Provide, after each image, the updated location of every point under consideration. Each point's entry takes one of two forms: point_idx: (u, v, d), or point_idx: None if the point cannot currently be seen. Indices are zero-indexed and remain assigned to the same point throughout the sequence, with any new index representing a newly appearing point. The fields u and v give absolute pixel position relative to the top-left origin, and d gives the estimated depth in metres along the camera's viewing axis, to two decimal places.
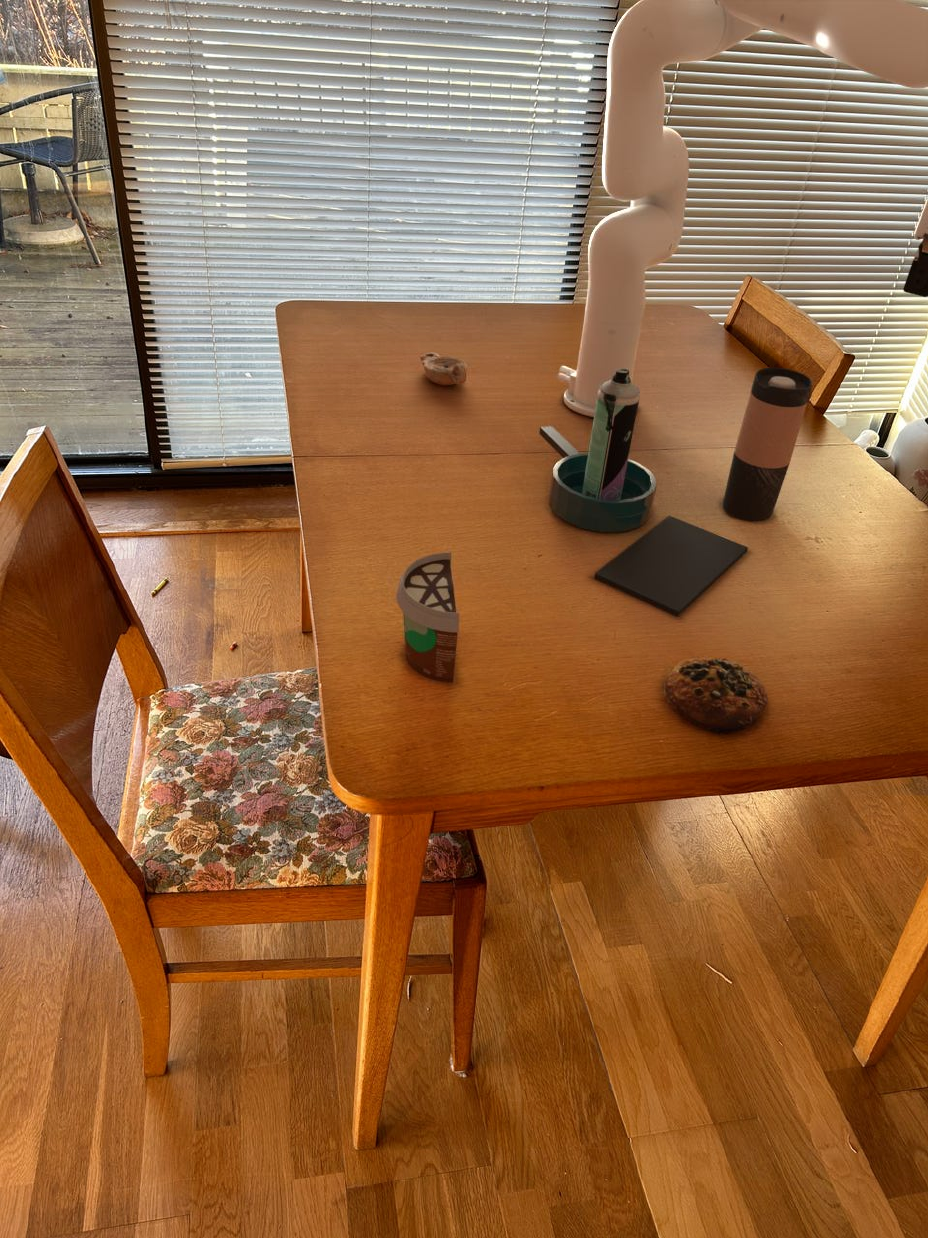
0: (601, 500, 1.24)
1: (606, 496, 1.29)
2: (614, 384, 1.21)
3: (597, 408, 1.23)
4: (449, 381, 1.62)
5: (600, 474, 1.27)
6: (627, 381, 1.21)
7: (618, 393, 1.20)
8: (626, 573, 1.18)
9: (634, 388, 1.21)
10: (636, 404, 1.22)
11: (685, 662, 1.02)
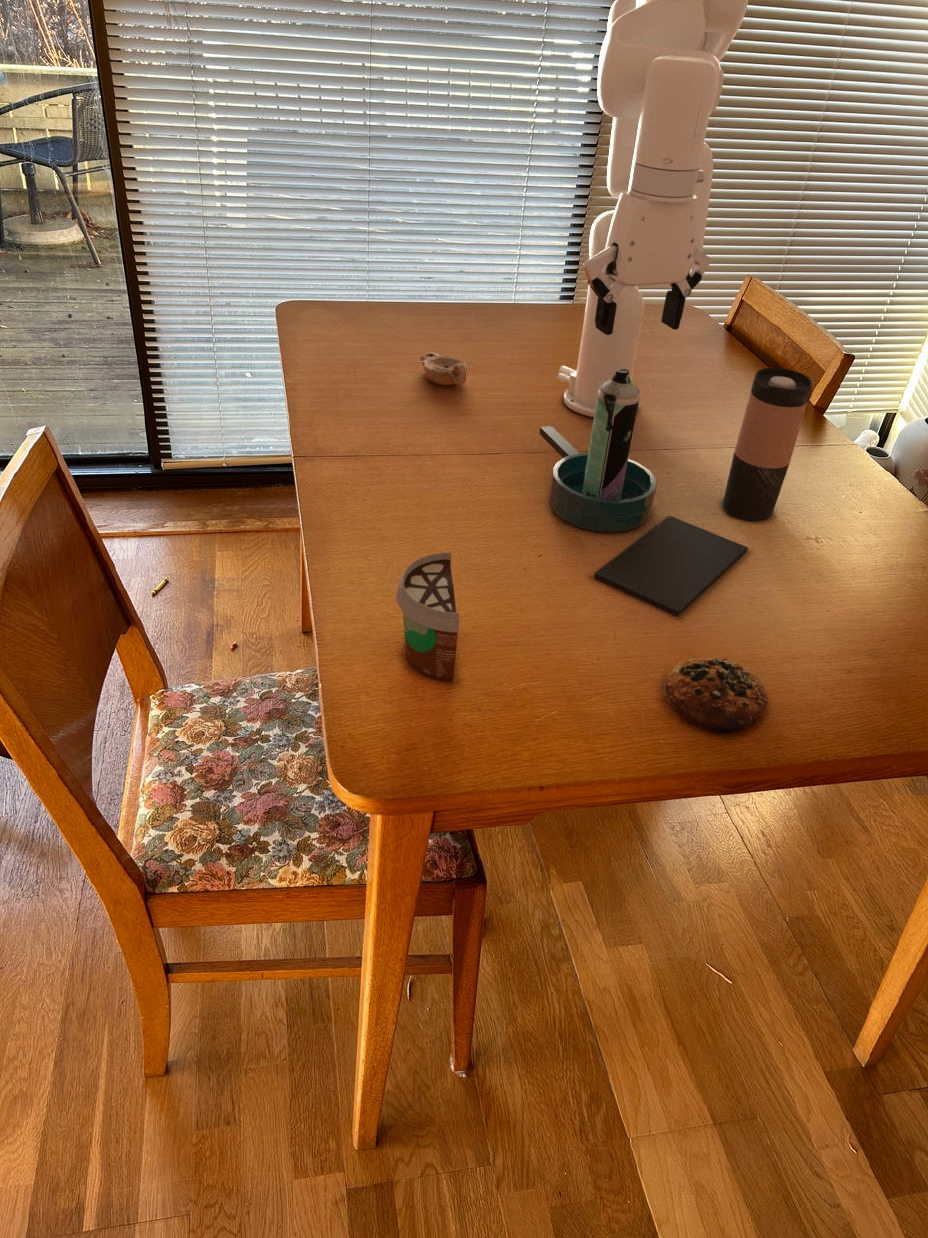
0: (601, 500, 1.24)
1: (606, 496, 1.29)
2: (614, 384, 1.21)
3: (597, 408, 1.23)
4: (449, 381, 1.62)
5: (600, 474, 1.27)
6: (627, 381, 1.21)
7: (618, 393, 1.20)
8: (626, 573, 1.18)
9: (634, 388, 1.21)
10: (636, 404, 1.22)
11: (685, 662, 1.02)
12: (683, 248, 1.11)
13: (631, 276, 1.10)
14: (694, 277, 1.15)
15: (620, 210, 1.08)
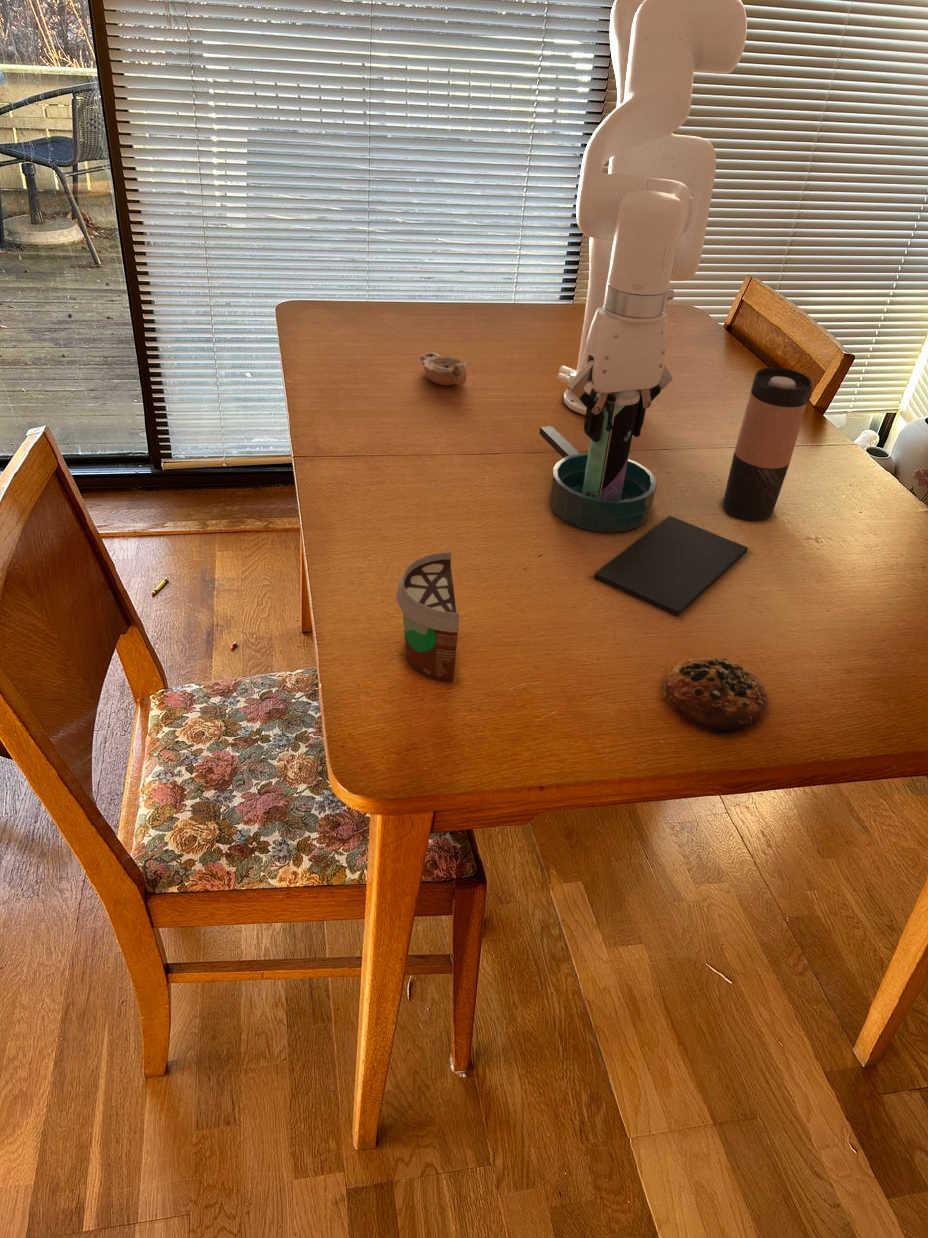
0: (601, 500, 1.24)
1: (606, 496, 1.29)
2: None
3: None
4: (449, 381, 1.62)
5: (600, 474, 1.27)
6: None
7: (618, 393, 1.20)
8: (626, 573, 1.18)
9: None
10: (636, 404, 1.22)
11: (685, 662, 1.02)
12: (654, 359, 1.19)
13: (606, 385, 1.18)
14: (653, 390, 1.23)
15: (595, 327, 1.16)
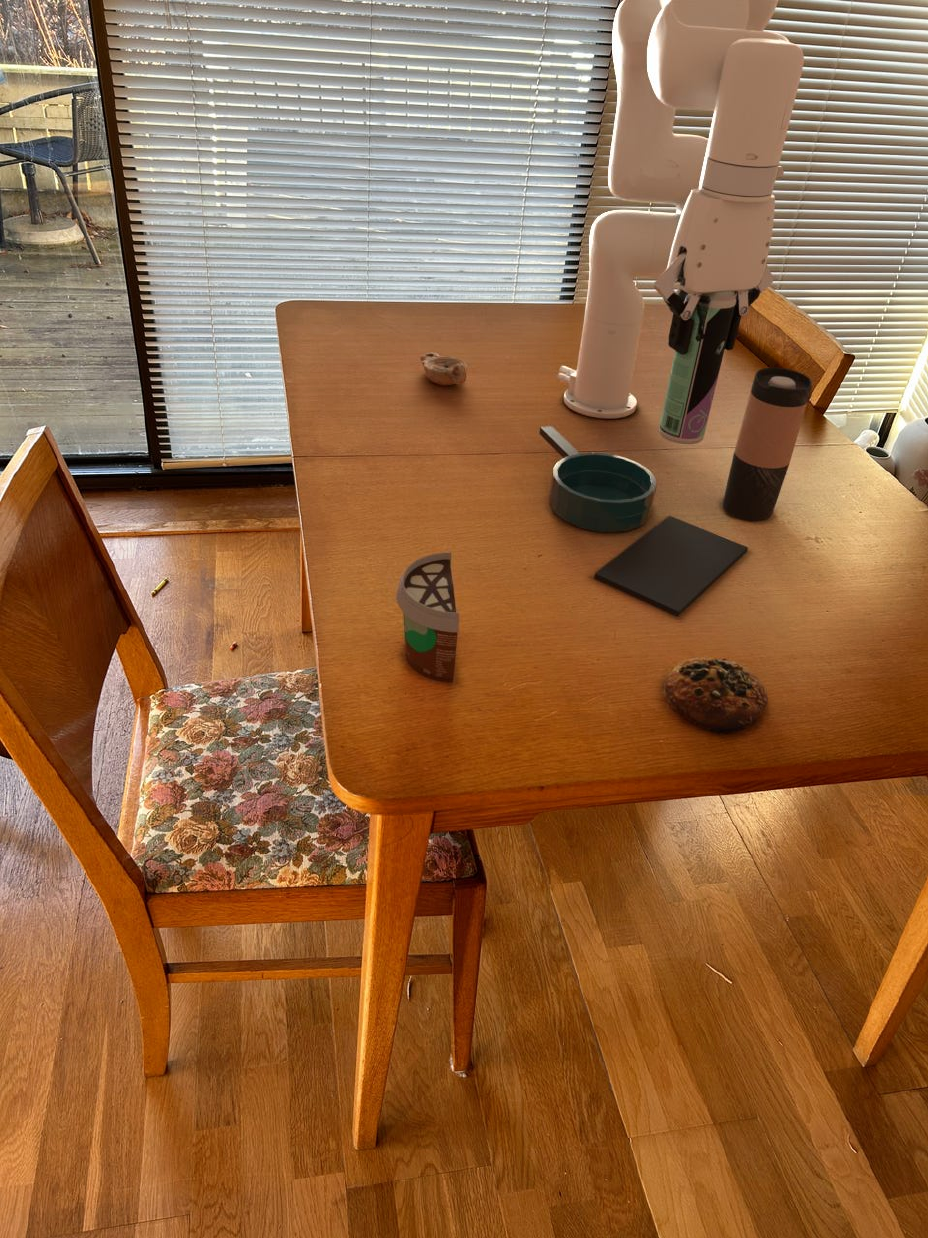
0: (601, 500, 1.24)
1: (691, 421, 1.10)
2: None
3: None
4: (449, 381, 1.62)
5: (686, 394, 1.08)
6: None
7: (712, 294, 1.02)
8: (626, 573, 1.18)
9: None
10: (732, 308, 1.03)
11: (685, 662, 1.02)
12: (757, 252, 1.00)
13: (700, 283, 1.00)
14: (751, 293, 1.05)
15: (690, 210, 0.98)
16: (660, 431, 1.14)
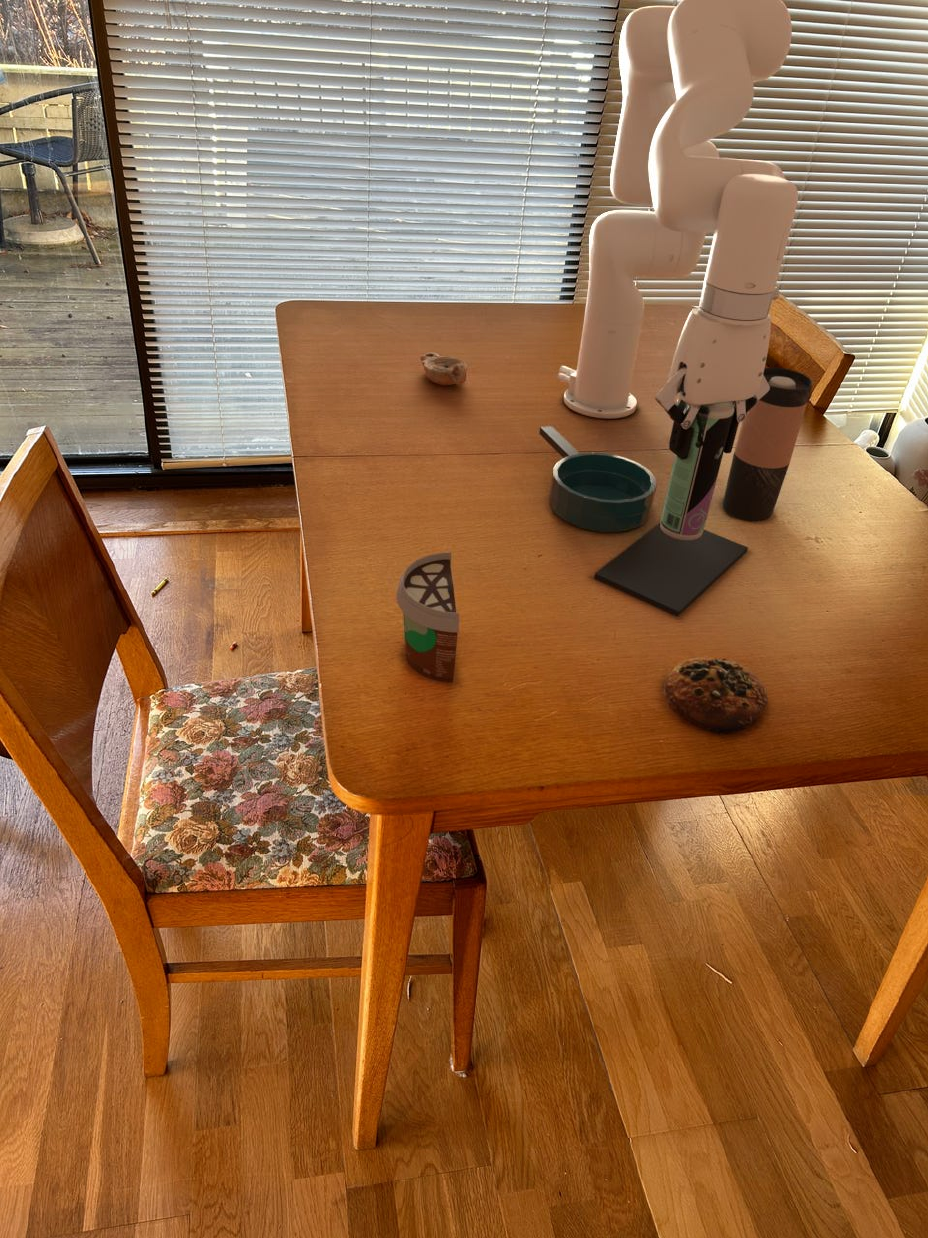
0: (601, 500, 1.24)
1: (691, 519, 1.15)
2: None
3: None
4: (449, 381, 1.62)
5: (686, 495, 1.13)
6: None
7: (712, 405, 1.06)
8: (626, 573, 1.18)
9: None
10: (730, 417, 1.08)
11: (685, 662, 1.02)
12: (754, 367, 1.05)
13: (699, 397, 1.05)
14: (749, 401, 1.09)
15: (689, 330, 1.02)
16: (661, 526, 1.18)
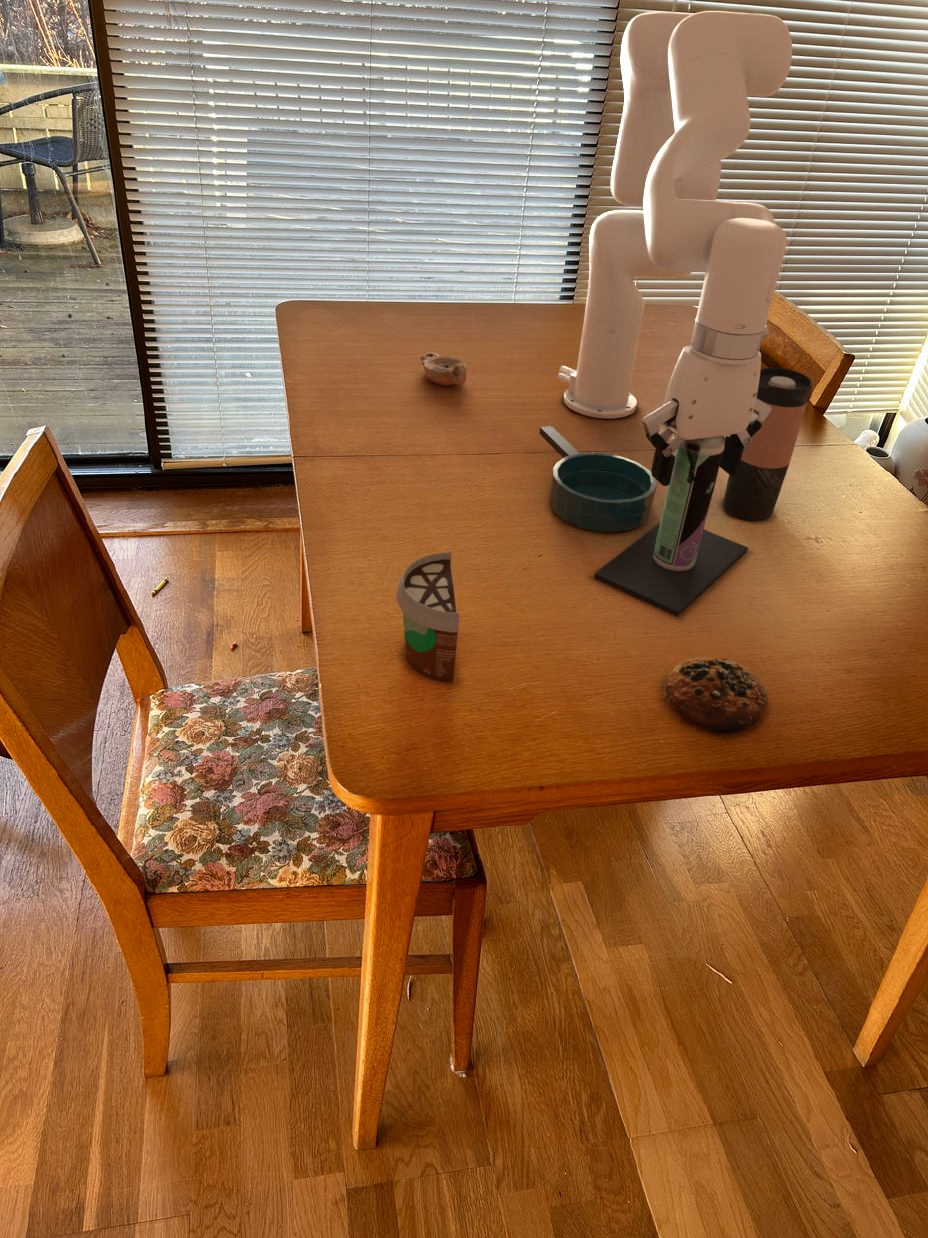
0: (601, 500, 1.24)
1: (683, 551, 1.18)
2: None
3: (677, 457, 1.12)
4: (449, 381, 1.62)
5: (678, 528, 1.16)
6: None
7: (702, 442, 1.09)
8: (626, 573, 1.18)
9: (719, 437, 1.10)
10: (721, 454, 1.11)
11: (685, 662, 1.02)
12: (745, 403, 1.07)
13: (691, 432, 1.07)
14: (754, 426, 1.12)
15: (681, 368, 1.05)
16: (654, 557, 1.21)
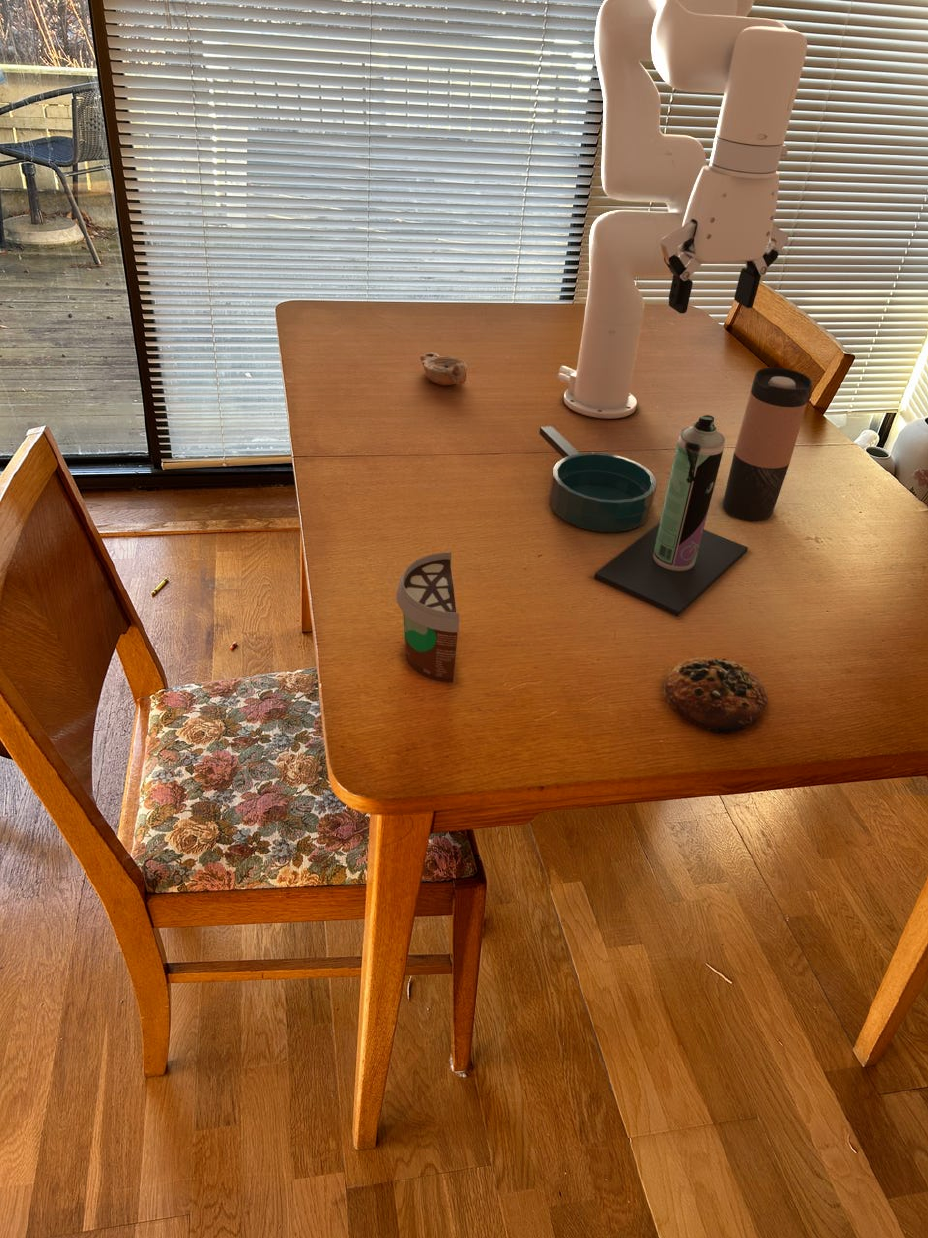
0: (601, 500, 1.24)
1: (683, 551, 1.18)
2: (697, 431, 1.10)
3: (677, 457, 1.12)
4: (449, 381, 1.62)
5: (678, 527, 1.16)
6: (712, 429, 1.10)
7: (702, 442, 1.09)
8: (626, 573, 1.18)
9: (719, 436, 1.10)
10: (721, 454, 1.11)
11: (685, 662, 1.02)
12: (762, 225, 1.09)
13: (709, 253, 1.09)
14: (771, 255, 1.13)
15: (700, 186, 1.06)
16: (654, 557, 1.21)
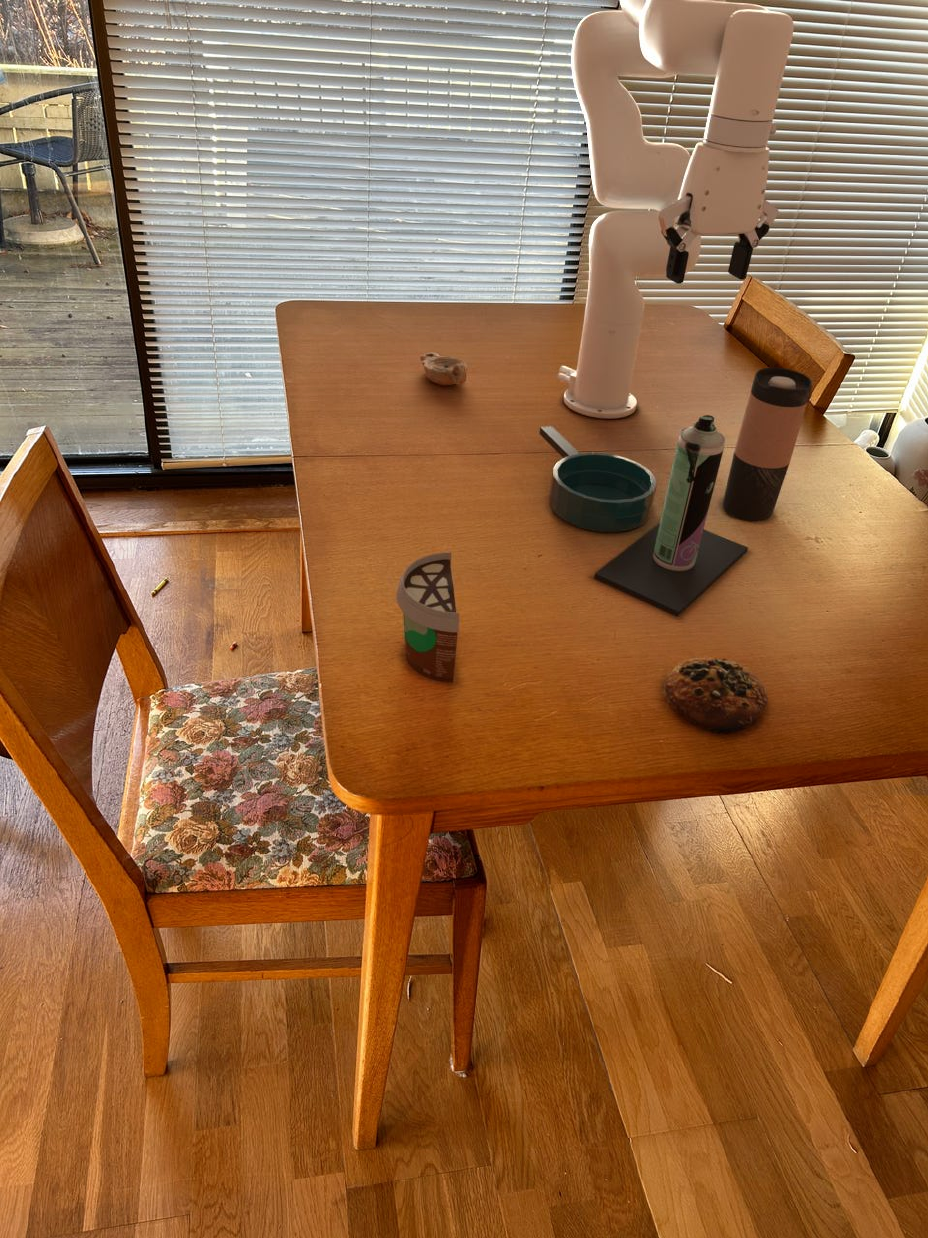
0: (601, 500, 1.24)
1: (683, 551, 1.18)
2: (697, 431, 1.10)
3: (677, 457, 1.12)
4: (449, 381, 1.62)
5: (678, 527, 1.16)
6: (712, 429, 1.10)
7: (702, 442, 1.09)
8: (626, 573, 1.18)
9: (719, 436, 1.10)
10: (721, 454, 1.11)
11: (685, 662, 1.02)
12: (754, 198, 1.15)
13: (704, 225, 1.15)
14: (762, 228, 1.20)
15: (695, 161, 1.12)
16: (654, 557, 1.21)
